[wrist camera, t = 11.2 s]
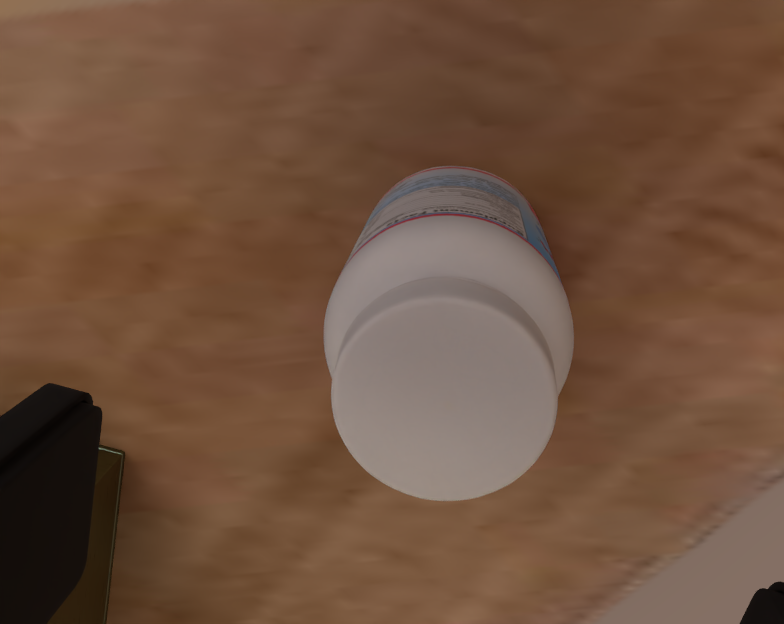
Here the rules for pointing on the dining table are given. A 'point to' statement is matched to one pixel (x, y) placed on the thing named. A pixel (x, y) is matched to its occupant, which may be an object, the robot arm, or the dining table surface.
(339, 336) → the pill bottle
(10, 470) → the robot arm
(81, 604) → the waste bin
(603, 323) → the dining table surface
